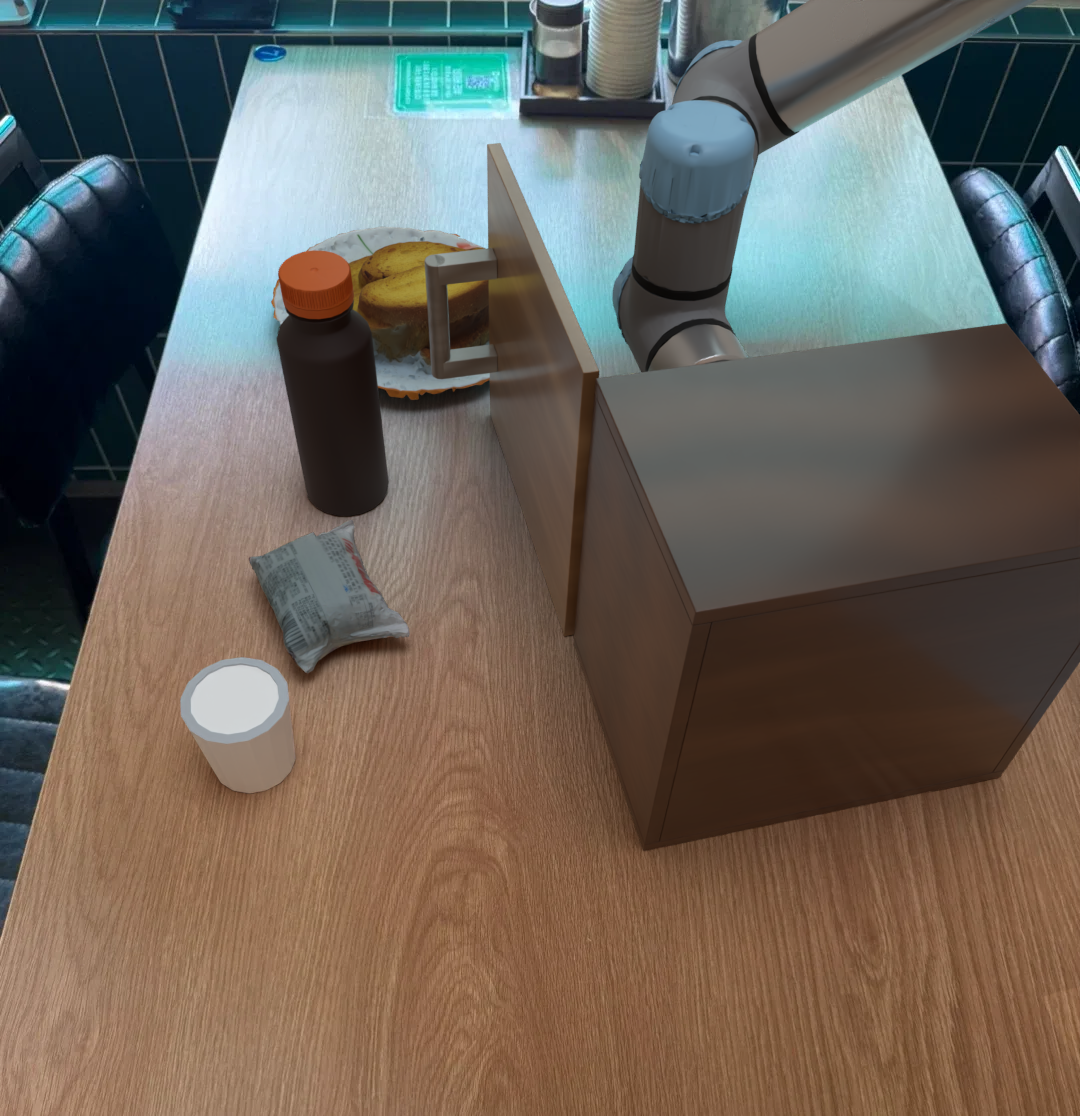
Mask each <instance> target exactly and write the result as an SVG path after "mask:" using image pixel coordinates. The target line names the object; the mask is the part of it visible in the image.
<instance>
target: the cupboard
mask: <svg viewBox="0 0 1080 1116" xmlns="http://www.w3.org/2000/svg"><path fill="white" fill-rule="evenodd" d="M1012 329H1013V328H1011V327H1010V325H1008V323H1006V322H1003V323H997V324H988V325H982V326H981V325H980V326H975V327H973V326H972V327H968V328H967V327H965V328H960V329H953V330H943V331H936V332H930V333H929V332H928V333H924V334H923V333H921V334H915V335H908V336H900V337H899V336H898V337H894V338H893V337H892V338H886V339H879V340H871V341H863V342H856V343H849V344H842V345H841V344H840V345H834V346H827V347H819V348H811V349H804V350H796V351H789V352H782V353H775V354H767V355H760V356H753V357H749V358H744V359H736V360H729V361H722V362H714V363H707V364H699V365H692V366H685V367H677V368H670V369H662V370H655V371H647V372H641V371H640V372H633V373H626V374H618V375H611V376H603V377H599V378H596V380H595V391H594V392H595V393H594V403H593V415H592V427H591V439H590V451H589V463H588V475H587V487H586V499H585V511H584V523H583V534H582V546H581V558H580V570H579V582H578V594H577V606H576V618H575V630H574V635H573V648H574V651H575V654H576V657H577V660H578V663H579V666H580V669H581V671H582V674H583V677H584V680H585V684H586V686H587V689H588V693H589V695H590V698H591V701H592V704H593V707H594V710H595V713H596V716H597V719H598V722H599V725H600V728H601V731H602V734H603V737H604V740H605V743H606V746H607V748H608V751H609V754H610V758H611V761H612V764H613V766H614V770H615V772H616V775H617V778H618V781H619V784H620V787H621V790H622V793H623V796H624V800H625V801H626V805H627V809H628V811H629V813H630V817H631V820H632V823H633V826H634V828H635V832H636V834H637V837H638V841H639V843H640V846H641V849H642V851H643V852H647V851H652V850H657V849H658V850H659V849H661V848H666V847H672V846H676V845H677V846H678V845H681V844H686V843H690V842H696V841H700V840H705V839H710V838H714V837H719V836H725V835H730V834H733V833H739V832H743V831H748V830H753V829H758V828H763V827H767V826H772V825H777V824H781V823H787V822H792V821H796V820H803V819H805V818H810V817H816V816H821V815H826V814H830V813H836V812H840V811H844V810H850V809H854V808H859V807H864V806H868V805H869V806H870V805H874V804H879V803H883V802H887V801H892V800H897V799H902V798H907V797H911V796H912V797H913V796H916V795H921V794H922V795H923V794H926V793H931V792H936V791H941V790H947V789H950V788H956V787H960V786H965V785H970V784H975V783H979V782H980V783H981V782H984V781H989V780H995V779H997V778H1001V777H1002V775H1003V774H1004V772H1005V771H1006V770H1007V768H1008V767H1009V765H1010V764H1011V762H1012V761H1013V759H1014V758H1015V757H1016V755H1017V754H1018V752H1019V751H1020V749H1021V748H1022V746H1023V745H1024V744H1025V742H1026V741H1027V739H1028V738H1029V737H1030V735H1031V733H1032V732H1033V731H1034V730H1035V728H1036V726H1037V725H1038V724H1039V722H1040V720H1041V719H1042V718H1043V716H1044V715H1045V713H1046V712H1047V711H1048V709H1049V708H1050V707H1051V704H1053V702H1054V700H1055V699H1056V698H1057V696H1058V694H1059V693H1060V692H1061V690H1062V689H1063V687H1064V686H1065V685H1066V683H1067V682H1068V680H1069V679H1070V677H1071V676H1072V674H1073V673H1074V672H1075V670H1076V669H1077V667H1078V666H1079V664H1080V414H1079V412H1078V411H1077V410H1076V409H1075V407H1074V406H1073V404H1072V403H1071V402H1070V400H1068V398H1067V397H1066V396H1065V395H1064V393H1063V392H1062V391H1061V390H1060V388H1059V387H1058V385H1056V384H1055V382H1054V381H1053V380H1052V378H1051V377H1050V376H1049V375H1048V373H1047V372H1046V371H1045V370H1044V368H1043V367H1042V365H1041V364H1040V363H1039V362H1038V361H1037V359H1036V358H1035V357H1034V356H1033V354H1032V353H1031V352H1030V350H1029V349H1028V348H1027V347H1026V346H1025V344H1024V343H1023V342H1022V341H1021V339H1020V338H1019V337H1018V335H1017V334H1016V333H1015V331H1014V330H1012Z"/></svg>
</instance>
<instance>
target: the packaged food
mask: <svg viewBox="0 0 1080 1116" xmlns="http://www.w3.org/2000/svg"><path fill="white" fill-rule="evenodd" d="M355 525H356V524H355V522H354V520H353V519H348V520H346V521H345V522H343V523H342V524H339V526H336V527H334V528H332V529H331V530H329V531H327V532H326V531H323V532H321V533H319V534H318V535H316V534H315V532H314V531H313V532H309V533H307V534H304V535H302V536H300V537H298V538H295V540H292V541H289V542H288V543H285V544H283V545H281V546H279V547H276V548H275V549H272V550H270V551H268V552H266V553H264V554H263V555H256V556H249V557H248V562H249V565H250V566H251V569H252V570H253V571H254V573H255V576H256V577H257V580H258V583H259V585H260V588H261V590H262V592H263V593H264V596H265V597H266V599H267V602H268V604H269V606H270V607H271V610H272V611H273V612H274V615H275V618H276V621H277V623H278V625H279V628H280V629H281V631H282V638H283V639H282V641H283V645H284V647H285V649H286V652H287V654H289V656H290V657H291V658H292V660H293V662H294V663H295V664H296V665H297V666H298V667H299V668H300V669H301V670H302V671H304V673H306V674H309V673H312V672H313V671H314V669H315V667H316V665H317V664H318V662H319V661H321V660H322V659H323V658H324V657H326V656H327V655H328V654H330V653H332V652H333V651H335V650H336V649H339V648H342V647H343V646H348V645H351V644H355V643H359V642H364V641H370V640H377V639H384V638H385V639H386V638H391V637H393V638H396V639H399V638H409V637H410V628H409V626H408V623H407V622H406V621H405V619H404V618H403V617H402V616H401V614H400V613H399V612H398V611H397V610H394V609H392V608H390V607H389V605H388V604H387V602H386V601H385V599H384V596H383V594H382V592H381V591H380V590H379V588H378V587H377V585H376V584H375V583H374V582H373V581H372V579H371V578H370V575H369V574H368V572H367V570H366V567H365V565H364V563H365V562H364V561H363V558H362V557H361V554H360V553H359V550H358V547H357V545H356V539H355V533H356V532H355V529H356V528H355V527H356V526H355Z"/></svg>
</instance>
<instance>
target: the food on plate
mask: <svg viewBox="0 0 1080 1116" xmlns="http://www.w3.org/2000/svg"><path fill="white" fill-rule="evenodd" d="M478 249H487V248H486V247H484V246H482V245H479V244H476V243H474V242H472V241H469V240H468V239H466V238H461V235H459V234H458V233H449V232H444V231H442V230H433V229H432V230H431V229H429V230H421V229H417V228H414V227H398V226H397V227H396V226H376V227H371V228H363V229H353V230H350V231H347V232H341V233H339V234H337V235H335V236H331V237H329V238H326V239H325V240H323V241H321V242H319V243H316V244H315V245H313V246H309V248H307V250H306V251H313V250H315V251H327V252H332V253H335V254H337V255H339V256H342V258H344V259H345V261H347V262H348V264H349V266H350V268H351V276H352V284H353V291H354V305H353V310H355V311H356V312H358V313H359V314H360V315H361V316H362V317H363V318H364V319H365V320H366V321H367V322H368V324H369V327H370V330H371V332H372V339H373V348H374V356H375V365H376V374H377V383H378V389H381V390H384V391H386V393H387V395H388V396H389V397H391V398H398V399H399V398H400V399H404V398H405V397H406V396H407V397H408V398H409V400H411V401H415V400H419V397H420V396H419V395H421V396H424V394H425V393H428V394H432V395H438V394H441V393H443V392H445V391H447V390H450V389H452V392H453V393H454V392H455V391H456V390H457V389H466V388H469V387H473V386H483V385H484V384H485V383H486V382H488V381H489V382H490V373H486V374H479V375H471V376H464V377H456V378H448V379H436V378H434V377H433V376H432V373H431V357H430V341H429V325H428V309H427V293H426V277H425V258H426V257H428V256H430V255H434V254H443V253H452V252H460V251H469V250H478ZM447 289H448V311H449V333H450V350H451V349H459V348H467V347H475V346H482V345H489V280H482V281H473V282H465V283H456V284H448V285H447ZM272 291H273V292H272V299H271V301H270V303H271V305H272V307H273V309H274V311H273V319H275V320H276V321H278V322H279V324H280V325H281V324H282V323H283V322H284V320H285V319H286V318H287V317H288V316H289V314H288V313H287V312H286V309H285V306H284V303H283V299H282V293H281V288H280V283H279V278H278V279H277V280H276V282H275V286H274V287H273V290H272Z"/></svg>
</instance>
